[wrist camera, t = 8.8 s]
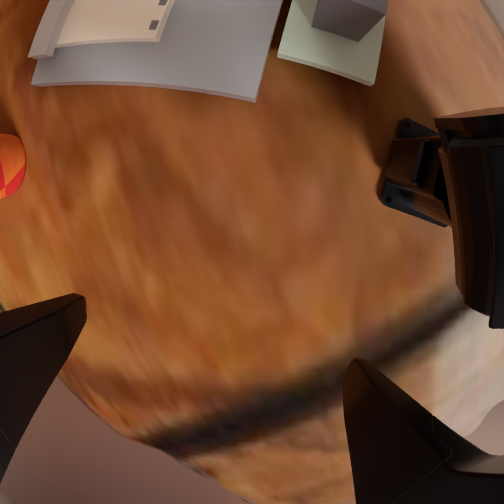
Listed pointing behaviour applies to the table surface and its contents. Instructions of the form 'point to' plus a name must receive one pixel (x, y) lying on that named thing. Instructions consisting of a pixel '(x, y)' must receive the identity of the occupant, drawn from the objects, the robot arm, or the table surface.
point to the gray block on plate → (336, 36)
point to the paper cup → (11, 164)
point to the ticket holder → (157, 44)
